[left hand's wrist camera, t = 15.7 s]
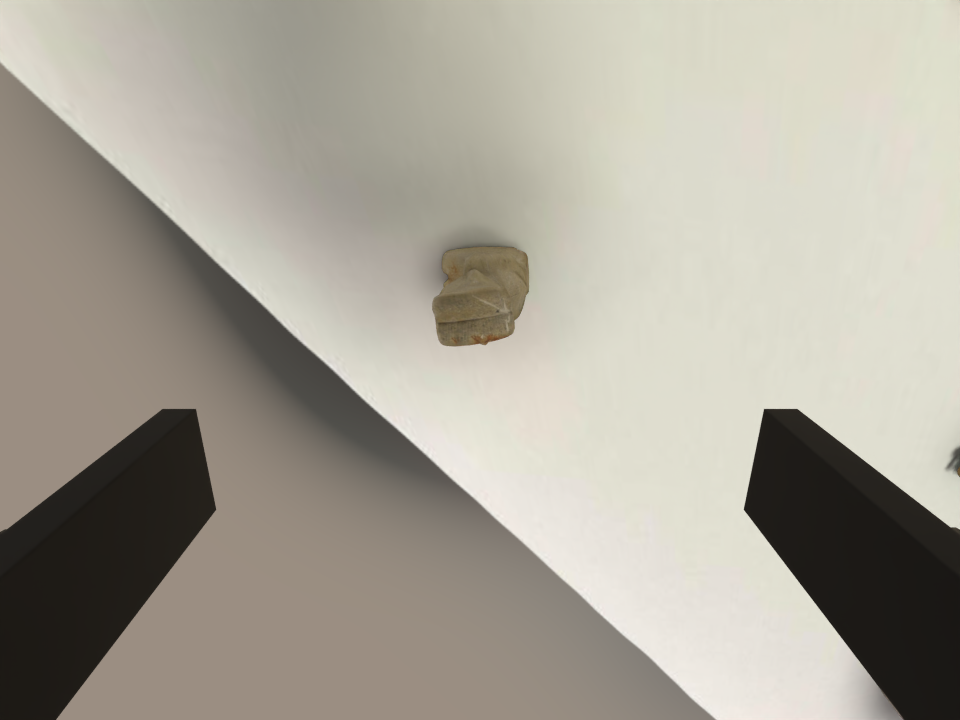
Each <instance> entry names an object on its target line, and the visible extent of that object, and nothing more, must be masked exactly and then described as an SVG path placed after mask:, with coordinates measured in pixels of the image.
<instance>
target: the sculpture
mask: <svg viewBox="0 0 960 720" xmlns="http://www.w3.org/2000/svg"><path fill="white" fill-rule="evenodd" d="M442 270H443V272H444V273H446V274H447V275H448V280H447V281H446V282H445V283H444V288H443V290H442V291H441V293H440V295H438V296H436V297H435V298H434V299H433V303H432V310H433V312H434V315H435V320H436V329H437V335H438V339H439V341H440V343H441V344H442V345H445V346H465V345H474V344H482V345H486V344H487V343H488V342H491V341H496V340H499V339H502V338H505V337H508V336H510V335H511V334H513V332H514V329H515V325H514V320H516V319H517V318H518V317H519V315H520V313H521V311H522V308H523V305H524V302H525V297H526V295H527V293H528V292H529V268H528V257H527V255H526V253H525V252H522V251H519V250H517V249H516V248H513V247H472V248H463V249H456V250H450V251H447V252H446V253H445V254H444V256H443V259H442Z"/></svg>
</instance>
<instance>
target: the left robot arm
mask: <svg viewBox="0 0 960 720" xmlns="http://www.w3.org/2000/svg"><path fill="white" fill-rule="evenodd" d="M215 510H216V506H215V501H214V497H213V492H212V487H211V482H210V477H209V472H208V467H207V462H206V457H205V452H204V447H203V442H202V437H201V432H200V427H199V422H198V417H197V412H196V409H162V410H161V411H160V412H158V413H157V414H156V415H154V416H153V417H152V418H150V419H149V420H148V421H147V422H145V423H144V424H143V425H141V426H140V427H139V428H138V429H136V430H135V431H134V432H132V433H131V434H130V435H129V436H127V437H126V438H125V439H123V440H122V441H121V442H119V443H118V444H117V445H116V446H114V447H113V448H112V449H110V450H109V451H108V452H107V453H105V454H104V455H103V456H101V457H100V458H99V459H98V460H96V461H95V462H94V463H92V464H91V465H90V466H88V467H87V468H86V469H85V470H83V471H82V472H81V473H79V474H78V475H77V476H75V477H74V478H73V479H72V480H70V481H69V482H68V483H66V484H65V485H64V486H63V487H61V488H60V489H59V490H57V491H56V492H55V493H53V494H52V495H51V496H50V497H48V498H47V499H46V500H44V501H43V502H42V503H41V504H39V505H38V506H37V507H35V508H34V509H33V510H32V511H30V512H29V513H28V514H26V515H25V516H24V517H22V518H21V519H20V520H19V521H17V522H16V523H15V524H13V525H12V526H11V527H10V528H8V529H5V530H3V531H1V532H0V720H56V719H57V718H58V716H59V715H60V714H61V712H62V711H63V710H64V708H65V707H66V706H67V705H68V703H69V702H70V701H71V699H72V698H73V697H74V695H75V694H76V693H77V691H78V690H79V689H80V687H81V686H82V685H83V684H84V682H85V681H86V680H87V678H88V677H89V676H90V674H91V673H92V672H93V670H94V669H95V668H96V666H97V665H98V664H99V663H100V661H101V660H102V659H103V657H104V656H105V655H106V653H107V652H108V651H109V649H110V648H111V647H112V646H113V644H114V643H115V642H116V640H117V639H118V638H119V636H120V635H121V634H122V632H123V631H124V630H125V628H126V627H127V626H128V624H129V623H130V622H131V621H132V619H133V618H134V617H135V615H136V614H137V613H138V611H139V610H140V609H141V607H142V606H143V605H144V604H145V602H146V601H147V600H148V598H149V597H150V596H151V594H152V593H153V592H154V590H155V589H156V588H157V586H158V585H159V584H160V583H161V581H162V580H163V579H164V577H165V576H166V575H167V573H168V572H169V571H170V569H171V568H172V567H173V566H174V564H175V563H176V562H177V560H178V559H179V558H180V556H181V555H182V554H183V552H184V551H185V550H186V548H187V547H188V546H189V545H190V543H191V542H192V540H193V539H194V538H195V537H196V535H197V534H198V533H199V531H200V530H201V529H202V527H203V526H204V525H205V524H206V522H207V521H208V520H209V518H210V517H211V516H212V514H213V513H214V512H215ZM744 510H745V512H746V513H747V514H748V516H749V517H750V518H751V520H752V521H753V522H754V524H755V525H756V526H757V528H758V529H759V530H760V531H761V533H762V534H763V535H764V537H765V538H766V539H767V541H768V542H769V543H770V545H771V546H772V547H773V548H774V550H775V551H776V552H777V554H778V555H779V556H780V558H781V559H782V560H783V562H784V563H785V564H786V566H787V567H788V568H789V569H790V571H791V572H792V573H793V575H794V576H795V577H796V579H797V580H798V581H799V583H800V584H801V585H802V587H803V588H804V589H805V590H806V592H807V593H808V594H809V596H810V597H811V598H812V600H813V601H814V602H815V604H816V605H817V606H818V607H819V609H820V610H821V611H822V613H823V614H824V615H825V617H826V618H827V619H828V621H829V622H830V623H831V625H832V626H833V627H834V628H835V630H836V631H837V632H838V634H839V635H840V636H841V638H842V639H843V640H844V642H845V643H846V644H847V646H848V647H849V648H850V649H851V651H852V652H853V653H854V655H855V656H856V657H857V659H858V660H859V661H860V663H861V664H862V665H863V666H864V668H865V669H866V670H867V672H868V673H869V674H870V676H871V677H872V678H873V680H874V681H875V682H876V684H877V685H878V686H879V687H880V689H881V690H882V691H883V693H884V694H885V695H886V697H887V698H888V699H889V701H890V702H891V703H892V705H893V706H894V707H895V708H896V710H897V711H898V712H899V714H900V715H901V716H902V718H903V719H904V720H960V529H958V528H950V527H949V526H948V525H947V524H945V523H944V522H943V521H941V520H940V519H939V518H938V517H936V516H935V515H934V514H932V513H931V512H930V511H928V510H927V509H926V508H925V507H923V506H922V505H921V504H919V503H918V502H917V501H916V500H914V499H913V498H912V497H910V496H909V495H908V494H907V493H905V492H904V491H903V490H901V489H900V488H899V487H897V486H896V485H895V484H894V483H892V482H891V481H890V480H888V479H887V478H886V477H885V476H883V475H882V474H881V473H879V472H878V471H877V470H875V469H874V468H873V467H872V466H870V465H869V464H868V463H866V462H865V461H864V460H863V459H861V458H860V457H859V456H857V455H856V454H855V453H853V452H852V451H851V450H850V449H848V448H847V447H846V446H844V445H843V444H842V443H841V442H839V441H838V440H837V439H835V438H834V437H833V436H832V435H830V434H829V433H828V432H826V431H825V430H824V429H822V428H821V427H820V426H819V425H817V424H816V423H815V422H813V421H812V420H811V419H810V418H808V417H807V416H806V415H804V414H803V413H802V412H800V411H799V410H798V409H764V412H763V417H762V422H761V427H760V432H759V437H758V442H757V447H756V452H755V457H754V462H753V467H752V472H751V477H750V482H749V487H748V492H747V497H746V501H745V506H744Z"/></svg>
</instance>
